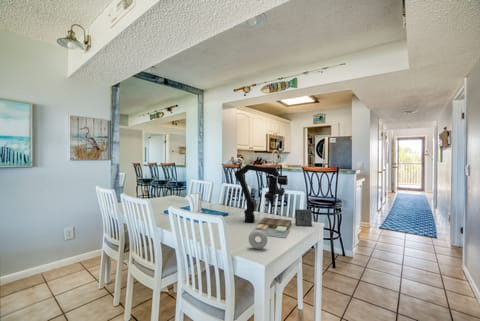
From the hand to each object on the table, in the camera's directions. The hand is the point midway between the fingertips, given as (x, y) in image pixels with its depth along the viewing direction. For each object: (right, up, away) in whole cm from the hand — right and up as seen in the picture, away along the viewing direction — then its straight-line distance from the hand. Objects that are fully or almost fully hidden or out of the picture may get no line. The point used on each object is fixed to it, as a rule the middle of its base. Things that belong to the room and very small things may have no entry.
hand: (272, 206), depth 164 cm
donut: (-14, -14, -43) cm, 47 cm away
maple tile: (-8, -13, -12) cm, 19 cm away
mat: (-4, -13, -18) cm, 23 cm away
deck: (+2, -13, -4) cm, 14 cm away
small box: (+22, -13, -2) cm, 25 cm away
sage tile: (+3, -13, -17) cm, 21 cm away
